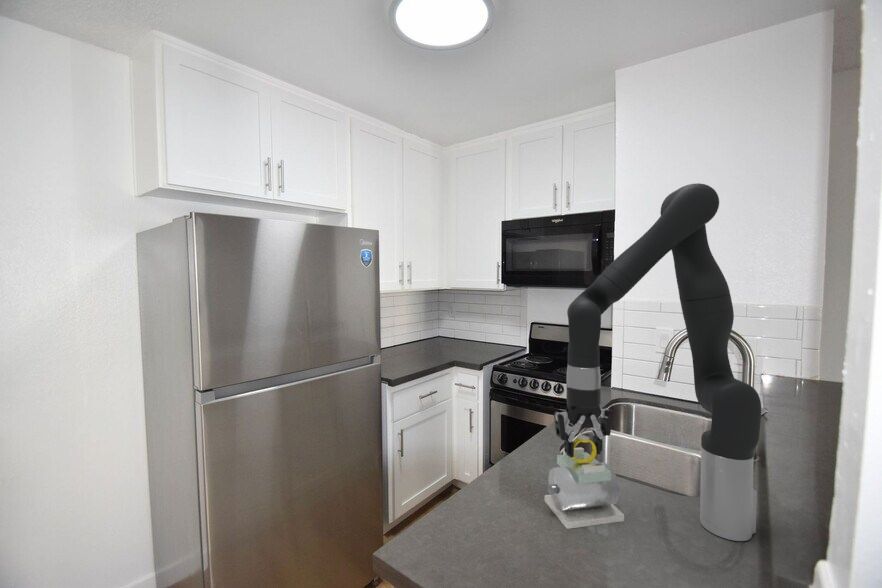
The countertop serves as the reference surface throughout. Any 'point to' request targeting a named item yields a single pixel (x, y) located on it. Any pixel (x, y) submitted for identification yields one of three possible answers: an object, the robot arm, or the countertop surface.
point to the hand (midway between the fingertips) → (583, 454)
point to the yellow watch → (585, 439)
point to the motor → (583, 491)
